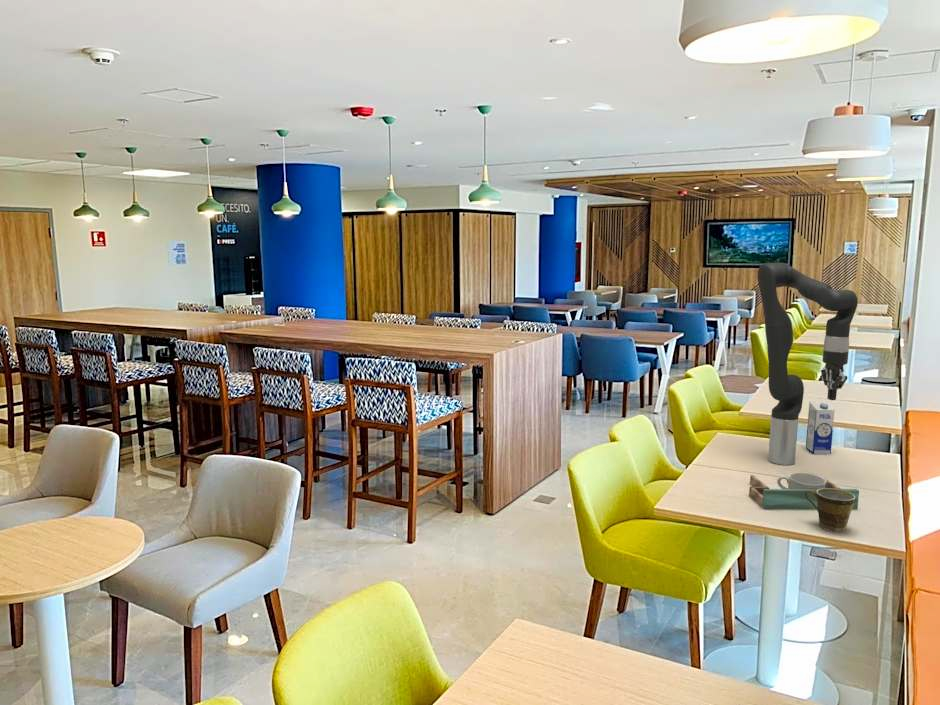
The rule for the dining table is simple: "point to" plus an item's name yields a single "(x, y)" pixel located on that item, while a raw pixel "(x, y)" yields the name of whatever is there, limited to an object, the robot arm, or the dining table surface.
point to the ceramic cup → (833, 507)
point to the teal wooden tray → (789, 496)
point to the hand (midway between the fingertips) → (831, 399)
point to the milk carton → (820, 428)
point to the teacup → (803, 481)
